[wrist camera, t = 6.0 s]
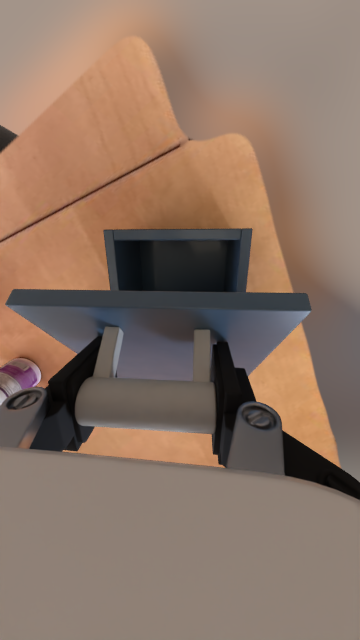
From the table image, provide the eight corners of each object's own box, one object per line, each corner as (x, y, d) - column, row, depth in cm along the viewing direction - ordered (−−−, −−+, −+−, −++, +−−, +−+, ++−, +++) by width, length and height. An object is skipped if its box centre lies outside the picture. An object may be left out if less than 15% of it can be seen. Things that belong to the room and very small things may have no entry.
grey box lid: (12, 288, 9) (-56, 417, 6) (307, 292, 8) (348, 443, 6) (119, 373, 21) (109, 426, 19) (236, 378, 20) (240, 435, 18)
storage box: (134, 233, 25) (102, 229, 17) (234, 232, 24) (252, 228, 16) (141, 337, 30) (120, 374, 21) (225, 340, 29) (236, 380, 21)
